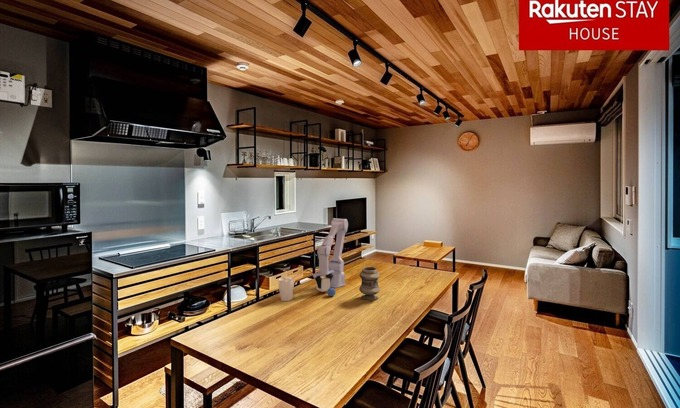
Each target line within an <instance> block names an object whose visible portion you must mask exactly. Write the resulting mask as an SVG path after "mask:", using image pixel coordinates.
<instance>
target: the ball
mask: <svg viewBox="0 0 680 408" xmlns="http://www.w3.org/2000/svg"><path fill="white" fill-rule="evenodd" d="M326 293H327V295H328V296H329V297H334V296H335V295H336V289H335V288H333V287H330V288H329V289H328V290H327V291H326Z"/></svg>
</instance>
